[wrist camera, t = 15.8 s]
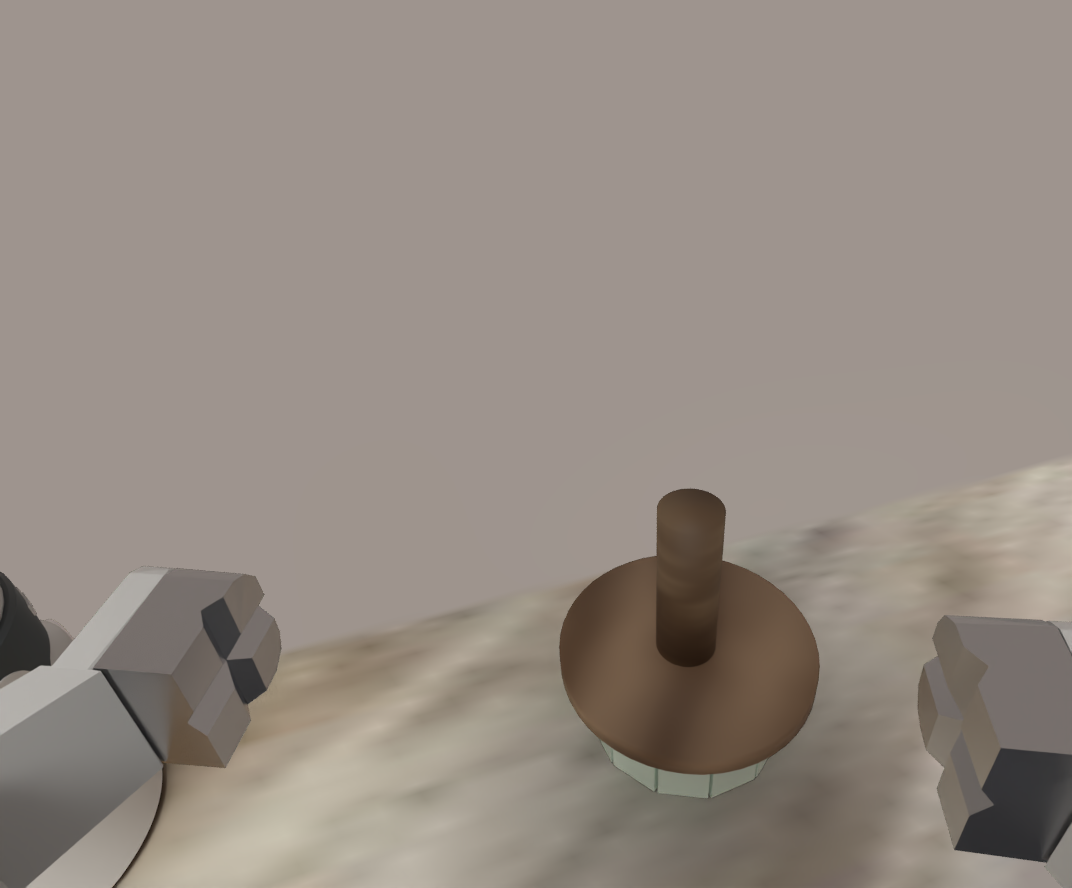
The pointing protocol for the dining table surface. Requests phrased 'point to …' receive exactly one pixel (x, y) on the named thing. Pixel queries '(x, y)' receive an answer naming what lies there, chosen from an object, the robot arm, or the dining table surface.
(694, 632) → the walnut lid
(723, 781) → the celadon bowl
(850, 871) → the dining table surface
